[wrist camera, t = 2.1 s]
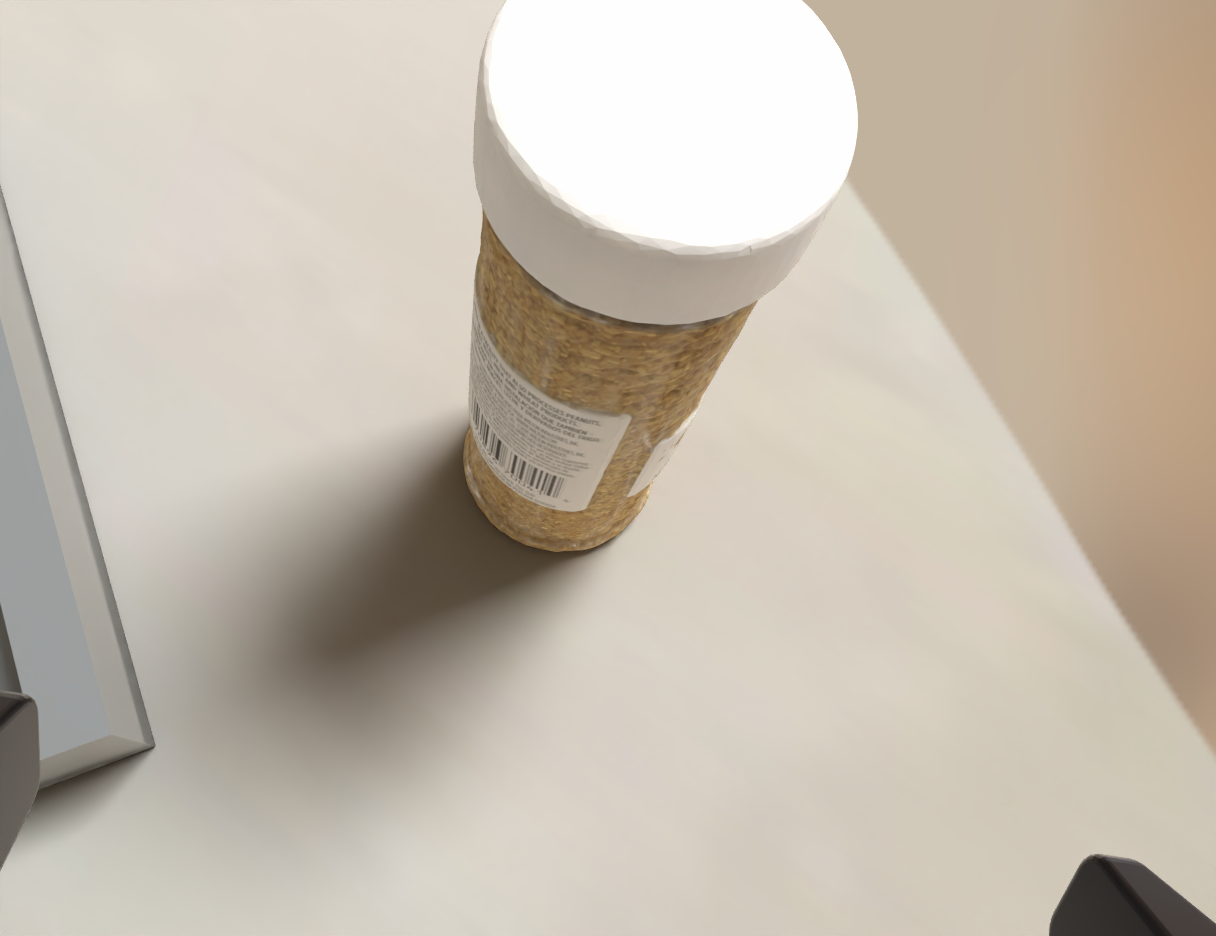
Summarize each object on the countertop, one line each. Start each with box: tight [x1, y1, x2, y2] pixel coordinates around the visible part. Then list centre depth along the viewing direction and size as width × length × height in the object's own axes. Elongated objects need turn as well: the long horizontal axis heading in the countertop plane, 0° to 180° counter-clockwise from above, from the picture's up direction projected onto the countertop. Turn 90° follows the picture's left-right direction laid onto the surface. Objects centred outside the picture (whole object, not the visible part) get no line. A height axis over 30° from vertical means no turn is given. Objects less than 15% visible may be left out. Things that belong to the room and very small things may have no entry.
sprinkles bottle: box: [463, 0, 857, 552], centre depth 18 cm, size 5×5×14 cm
